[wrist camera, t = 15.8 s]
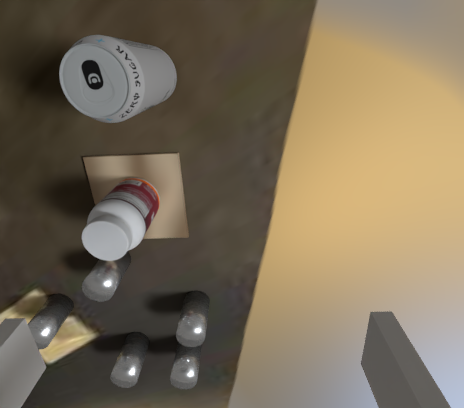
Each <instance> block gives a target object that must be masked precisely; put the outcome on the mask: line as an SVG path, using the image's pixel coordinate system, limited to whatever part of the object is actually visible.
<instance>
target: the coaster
mask: <svg viewBox="0 0 464 408" xmlns="http://www.w3.org/2000/svg"><path fill="white" fill-rule="evenodd" d="M83 160H84V164H85V168H86V172H87V176H88V179H89V183H90V187H91V191H92V195H93V199H94V203H95V206H96V205H97V204H98V203H99V202H100V201H101V200H102V199H103V198H104V197H105V196H106V195H107V194H108V193H109V192H110V191H111V190H112V189H113V188H114V187H115V186H116V185H117V184H118V183H119V182H121V181H122V180H124V179H127V178H141V179H144V180H146V181H148V182H149V183H151V184H152V185H153V186H154V187H155V188H156V190H157V192H158V194H159V197H160V206H159V209H158V212H157V214H156V215H155V217H154V219H153V221H152V223H151V225H150V226H149V228H148V230H147V232H146V234H145V235H144V237H143V239H148V238H183V237H189V232H188V224H187V216H186V207H185V199H184V191H183V183H182V175H181V167H180V158H179V152H173V153H149V154H124V155H100V156H84V157H83Z"/></svg>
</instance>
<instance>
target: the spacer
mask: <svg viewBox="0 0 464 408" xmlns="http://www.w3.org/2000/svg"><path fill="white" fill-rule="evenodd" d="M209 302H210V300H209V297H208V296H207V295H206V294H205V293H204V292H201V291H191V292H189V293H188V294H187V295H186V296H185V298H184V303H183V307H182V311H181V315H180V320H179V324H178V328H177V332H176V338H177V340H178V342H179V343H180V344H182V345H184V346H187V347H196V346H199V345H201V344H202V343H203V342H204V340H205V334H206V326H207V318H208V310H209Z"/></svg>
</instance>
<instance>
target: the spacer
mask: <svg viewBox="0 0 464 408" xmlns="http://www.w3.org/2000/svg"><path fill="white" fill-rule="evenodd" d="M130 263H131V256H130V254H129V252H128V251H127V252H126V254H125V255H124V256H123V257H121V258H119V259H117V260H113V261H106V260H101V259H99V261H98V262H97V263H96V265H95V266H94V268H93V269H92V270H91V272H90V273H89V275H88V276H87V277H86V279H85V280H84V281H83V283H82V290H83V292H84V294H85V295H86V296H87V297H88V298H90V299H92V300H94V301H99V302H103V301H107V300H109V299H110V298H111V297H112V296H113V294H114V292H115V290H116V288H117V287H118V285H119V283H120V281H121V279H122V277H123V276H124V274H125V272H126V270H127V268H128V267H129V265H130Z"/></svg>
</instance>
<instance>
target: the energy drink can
mask: <svg viewBox="0 0 464 408" xmlns="http://www.w3.org/2000/svg"><path fill="white" fill-rule="evenodd" d="M59 78H60V84H61V87H62V90H63V92H64V94H65V96H66V98H67V99H68V101H69V102H70V103H71V104H72V105H73V106H74V107H75V108H76V109H77V110H78V111H80V112H81V113H83V114H85V115H87V116H90V117H91V118H93V119H95V120H98V121H101V122H107V123H117V122H121V121H124V120H126V119H128V118H131V117H133V116H135V115H137V114H139V113H141V112H143V111H145V110H147V109H149V108H151V107H153V106H155V105H157V104H159V103H161V102H163V101H165V100H166V99H168V98H169V97H170V96H171V94H172V93H173V91H174V89H175V86H176V79H177V76H176V70H175V66H174V64H173V62H172V60H171V59H170V57H169V56H168V55H167V54H166V53H165V52H164V51H163V50H161V49H160V48H158V47H155V46H152V45H147V44H142V43H138V42H133V41H128V40H123V39H119V38H114V37H109V36H103V35H90V36H87V37H84V38H82V39H80V40H78V41H77V42H76V43H75V44H74V45H73V46H72V47H71V48H70V50H69V51H68V52H67V53H66V54H65V55H64V57H63V59H62V61H61V64H60V70H59Z"/></svg>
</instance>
